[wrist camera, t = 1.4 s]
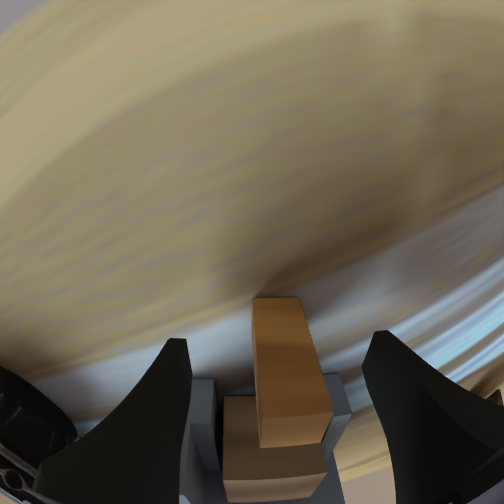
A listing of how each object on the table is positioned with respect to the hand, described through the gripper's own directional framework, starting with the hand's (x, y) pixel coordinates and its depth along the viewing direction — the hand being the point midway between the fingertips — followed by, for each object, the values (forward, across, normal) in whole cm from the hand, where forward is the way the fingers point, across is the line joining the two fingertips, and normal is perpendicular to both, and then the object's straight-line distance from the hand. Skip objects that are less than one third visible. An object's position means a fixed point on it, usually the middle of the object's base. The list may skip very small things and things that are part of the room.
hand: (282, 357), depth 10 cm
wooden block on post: (+3, 0, +5) cm, 6 cm away
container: (+3, +22, +13) cm, 25 cm away
